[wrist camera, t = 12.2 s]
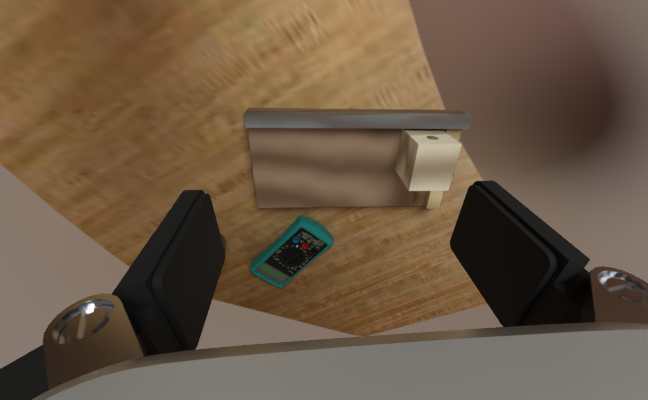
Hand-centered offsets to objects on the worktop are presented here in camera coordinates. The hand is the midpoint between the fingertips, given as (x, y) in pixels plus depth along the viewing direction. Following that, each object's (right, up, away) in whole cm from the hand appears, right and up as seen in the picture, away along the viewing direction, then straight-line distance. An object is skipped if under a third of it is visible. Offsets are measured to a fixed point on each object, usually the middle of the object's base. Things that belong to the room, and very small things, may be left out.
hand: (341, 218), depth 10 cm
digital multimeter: (-6, -8, +38) cm, 40 cm away
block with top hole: (+12, +6, +28) cm, 31 cm away
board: (+3, +7, +29) cm, 30 cm away
